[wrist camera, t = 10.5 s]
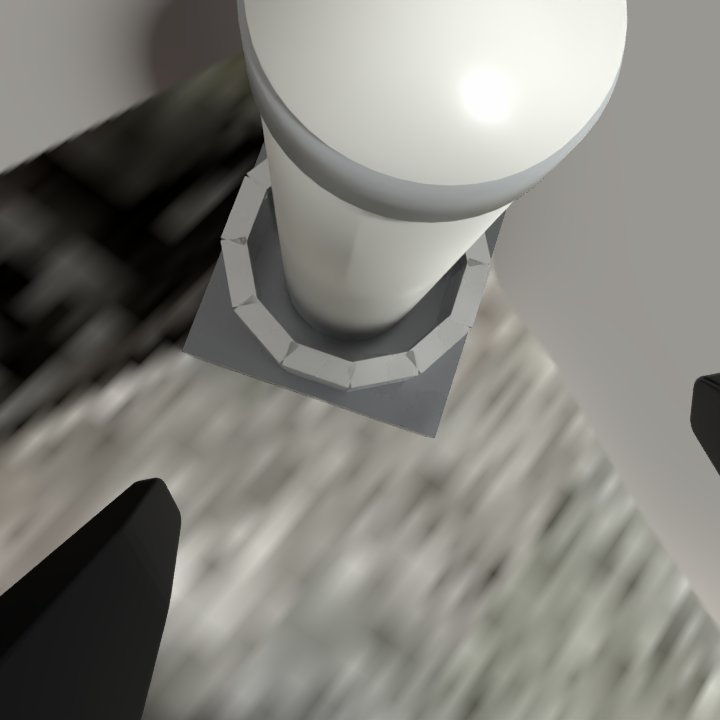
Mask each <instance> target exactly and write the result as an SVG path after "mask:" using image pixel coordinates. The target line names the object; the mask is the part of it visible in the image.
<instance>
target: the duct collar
mask: <svg viewBox="0 0 720 720" xmlns="http://www.w3.org/2000/svg"><path fill="white" fill-rule="evenodd" d="M247 176H248V177H246V176H245V177H244V180H243V182H242V185H241V187H240V190H239V193H238V195H237V198H236V200H235V203H234V205H233V208H232V210H231V213H230V215H229V218H228V220H227V223H226V226H225V228H224V231H223V233H222V236H221V239H222V240H221V246H222V250H221V253H220V256H219V258H218V261H217V263H216V266H215V268H214V271H213V273H212V276H211V278H210V281H209V284H208V286H207V289H206V291H205V294H204V296H203V299H202V301H201V304H200V306H199V309H198V312H197V314H196V317H195V319H194V322H193V324H192V327H191V329H190V332H189V335H188V337H187V340H186V342H185V345H184V347H183V350H182V351H183V352H184V353H186V354H188V355H190V356H192V357H195V358H198V359H201V360H204V361H207V362H210V363H212V364H215V365H218V366H221V367H224V368H227V369H230V370H233V371H236V372H239V373H242V374H244V375H247V376H250V377H253V378H256V379H259V380H262V381H265V382H268V383H271V384H274V385H276V386H279V387H282V388H285V389H288V390H291V391H294V392H297V393H300V394H303V395H306V396H309V397H311V398H314V399H317V400H320V401H323V402H326V403H329V404H332V405H335V406H338V407H341V408H343V409H346V410H349V411H352V412H355V413H358V414H361V415H364V416H367V417H370V418H373V419H375V420H378V421H381V422H384V423H387V424H390V425H393V426H396V427H399V428H402V429H405V430H407V431H410V432H413V433H416V434H419V435H422V436H425V437H431V438H435V435H436V432H437V429H438V426H439V423H440V419H441V416H442V413H443V410H444V407H445V403H446V400H447V397H448V394H449V391H450V388H451V384H452V381H453V378H454V375H455V372H456V368H457V365H458V362H459V359H460V356H461V352H462V349H463V346H464V343H465V340H466V336H467V333H468V332H469V331H470V330H471V329H470V328H472V327H473V324H474V320H475V317H476V314H477V311H478V308H479V304H480V301H481V298H482V295H483V292H484V288H485V285H486V282H487V279H488V276H489V272H490V269H491V266H490V264H491V263H492V262H491V257H492V253H493V250H494V247H495V244H496V241H497V237H498V234H499V231H500V228H501V224H502V221H503V218H504V214H505V212H506V210H505V211H504V212H503V213H502V214H501V215H500V216H499V217H498V218H497V219H496V220H495V221H494V222H493V223H492V224H491V226H490V227H489V228H488V229H487V230H486V231H485V232H484V233H483V234H482V235H481V236H480V237H479V238H478V239H477V240H476V241H475V243H474V244H473V245H472V246H471V247H470V248H469V249H468V250H467V251H466V252H465V253H464V254H463V255H462V256H461V257H460V258H459V260H458V261H457V262H456V263H455V264H454V265H453V266H452V267H451V268H450V269H449V270H448V271H447V272H446V273H445V274H444V275H443V277H442V278H441V279H440V280H439V281H438V282H437V283H436V284H435V285H434V286H433V287H432V288H431V289H430V290H429V291H428V292H427V294H426V295H425V296H424V297H423V298H422V299H421V300H420V301H419V302H418V303H417V304H416V305H415V306H414V307H413V308H412V309H411V311H410V312H409V313H408V314H407V315H406V316H405V317H404V318H403V319H402V320H401V321H400V322H399V323H398V324H397V325H396V326H394V327H393V328H391V329H390V330H389V331H387V332H385V333H383V334H381V335H378V336H376V337H373V338H369V339H364V340H344V339H338V338H335V337H331V336H329V335H326V334H324V333H322V332H320V331H318V330H317V329H315V328H314V327H312V326H311V325H310V324H309V323H307V322H306V321H305V320H304V319H303V318H302V316H301V315H300V314H299V313H298V311H297V310H296V309H295V307H294V305H293V303H292V301H291V299H290V296H289V294H288V291H287V286H286V281H285V274H284V268H283V261H282V254H281V247H280V241H279V234H278V227H277V221H276V214H275V207H274V200H273V194H272V187H271V180H270V173H269V167H268V160H267V153H266V146H265V141H264V143H263V146H262V148H261V151H260V154H259V156H258V159H257V161H256V164H255V166H254V169H252V170H251V171H250V172H248V173H247Z"/></svg>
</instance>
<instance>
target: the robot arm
mask: <svg viewBox="0 0 720 720" xmlns="http://www.w3.org/2000/svg"><path fill="white" fill-rule="evenodd" d="M690 422H691V427H692V430H693V432H694V434H695V436H696V437H697V439H698V441H699V442H700V444H701V446H702V447H703V449H704V451H705V452H706V454H707V455H708V457H709V459H710V461H711V462H712V464H713V465H714V467H715V469H716V470H717V472H718V474H719V475H720V373H716V374H711V375H706V376H701V377H699V378H698V379H697V380H696V381H695V383H694V388H693V397H692V406H691V415H690ZM180 529H181V515H180V511H179V509H178V507H177V505H176V503H175V501H174V499H173V498H172V496H171V494H170V492H169V490H168V488H167V486H166V484H165V483H164V481H163V480H162V479H160V478H151V479H146V480H140V481H137V482H135V483H134V484H132V485H131V486H130V487H129V488H128V489H126V490H125V491H124V492H123V493H122V494H121V495H119V496H118V497H117V498H116V499H115V500H113V501H112V502H111V503H110V504H109V505H108V506H106V507H105V508H104V509H103V510H102V511H100V512H99V513H98V514H97V515H96V516H95V517H93V518H92V519H91V520H90V521H89V522H87V523H86V524H85V525H84V526H83V527H82V528H80V529H79V530H78V531H77V532H76V533H75V534H73V535H72V536H71V537H70V538H69V539H67V540H66V541H65V542H64V543H63V544H62V545H60V546H59V547H58V548H57V549H56V550H54V551H53V552H52V553H51V554H50V555H49V556H47V557H46V558H45V559H44V560H43V561H41V562H40V563H39V564H38V565H37V566H36V567H34V568H33V569H32V570H31V571H30V572H28V573H27V574H26V575H25V576H24V577H23V578H21V579H20V580H19V581H18V582H17V583H15V584H14V585H13V586H12V587H11V588H10V589H8V590H7V591H6V592H5V593H4V594H2V595H1V596H0V720H141V718H142V714H143V710H144V706H145V702H146V698H147V694H148V690H149V686H150V682H151V678H152V674H153V670H154V666H155V662H156V658H157V654H158V650H159V646H160V642H161V638H162V634H163V630H164V626H165V622H166V618H167V614H168V609H169V604H170V599H171V593H172V586H173V579H174V572H175V564H176V557H177V550H178V543H179V536H180Z"/></svg>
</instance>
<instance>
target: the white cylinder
mask: <svg viewBox="0 0 720 720" xmlns="http://www.w3.org/2000/svg"><path fill="white" fill-rule="evenodd" d="M237 8H238V18H239V25H240V31H241V37H242V43H243V49H244V55H245V61H246V67H247V73H248V77H249V81H250V85H251V90H252V94H253V97H254V99H255V102H256V104H257V107H258V110H259V112H260V115H261V120H262V126H263V133H264V140H265V146H266V153H267V160H268V167H269V173H270V180H271V187H272V194H273V200H274V207H275V214H276V221H277V227H278V234H279V241H280V247H281V254H282V261H283V268H284V274H285V281H286V286H287V291H288V294H289V296H290V299H291V301H292V303H293V305H294V307H295V309H296V310H297V311H298V313H299V314H300V315H301V316H302V318H303V319H304V320H305V321H306V322H307V323H309V324H310V325H311V326H312V327H314V328H315V329H317V330H318V331H320V332H322V333H324V334H326V335H329V336H331V337H335V338H338V339H344V340H364V339H369V338H373V337H376V336H378V335H381V334H383V333H385V332H387V331H389V330H390V329H391V328H393V327H394V326H396V325H397V324H398V323H399V322H400V321H401V320H402V319H403V318H404V317H405V316H406V315H407V314H408V313H409V312H410V311H411V309H412V308H413V307H414V306H415V305H416V304H417V303H418V302H419V301H420V300H421V299H422V298H423V297H424V296H425V295H426V294H427V292H428V291H429V290H430V289H431V288H432V287H433V286H434V285H435V284H436V283H437V282H438V281H439V280H440V279H441V278H442V277H443V275H444V274H445V273H446V272H447V271H448V270H449V269H450V268H451V267H452V266H453V265H454V264H455V263H456V262H457V261H458V260H459V258H460V257H461V256H462V255H463V254H464V253H465V252H466V251H467V250H468V249H469V248H470V247H471V246H472V245H473V244H474V243H475V241H476V240H477V239H478V238H479V237H480V236H481V235H482V234H483V233H484V232H485V231H486V230H487V229H488V228H489V227H490V226H491V224H492V223H493V222H494V221H495V220H496V219H497V218H498V217H499V216H500V215H501V214H502V213H503V212H504V211H505V210H506V209H507V207H508V206H509V205H510V204H511V203H512V202H513V201H515V200H517V199H518V198H520V197H521V196H522V195H524V194H525V193H527V192H528V191H529V190H531V189H532V188H534V187H535V186H536V185H537V184H538V183H539V182H540V181H541V180H542V179H543V178H544V177H545V176H546V175H547V174H548V173H550V171H552V169H553V168H554V167H555V166H556V165H557V164H558V163H559V162H560V161H561V160H562V159H563V158H564V157H565V156H566V155H567V154H568V153H569V152H570V151H571V150H572V149H573V148H574V147H575V146H576V145H577V144H578V143H579V142H580V141H581V140H582V139H583V138H584V137H585V135H586V134H587V133H588V132H589V130H590V129H591V128H592V127H593V125H594V124H595V123H596V121H597V120H598V119H599V117H600V115H601V113H602V112H603V110H604V108H605V106H606V105H607V103H608V101H609V100H610V97H611V95H612V92H613V90H614V87H615V84H616V82H617V79H618V76H619V72H620V67H621V63H622V59H623V51H624V46H625V39H626V28H627V8H626V0H237Z"/></svg>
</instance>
